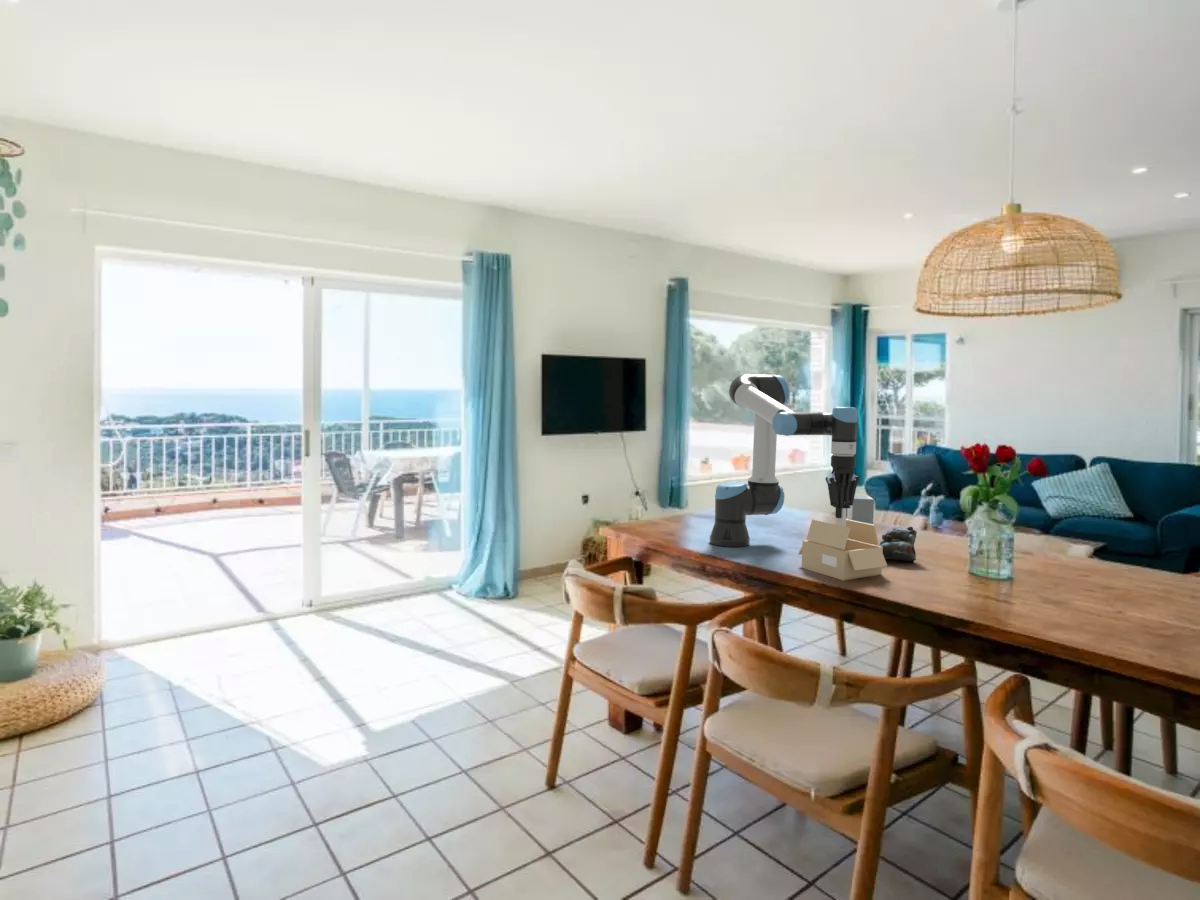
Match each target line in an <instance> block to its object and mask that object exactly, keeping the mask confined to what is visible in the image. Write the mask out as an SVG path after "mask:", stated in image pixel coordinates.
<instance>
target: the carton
mask: <svg viewBox="0 0 1200 900" xmlns="http://www.w3.org/2000/svg"><path fill="white" fill-rule="evenodd" d="M798 555H799V556H800V555H801V568H802V569H804V570H808V571H811V572H815V573H818V574H821V575H825V576H828V577H832V578H834V579H837V580H840V581H842V582H843V581H848V580H849V581H850V580H856V579H863V578H868V577H877V576H882V574H883V573H882V572H883V570H882V569H883V567H884V568H885V567H888V564H887V561H886V559H885V558H884V556H883V547H880V545H878V546H877V545H873V544H868V543H864V542H860V541H855V540H851V539H847V542H846V545H845V549H844V550H843V549H839V548H835V547H832V546H828V545H824V544H820V543H816V542H812V541H809V540H807V539H805V540H802V546H801V548H800V550H799V551H798Z"/></svg>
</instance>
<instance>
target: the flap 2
mask: <svg viewBox="0 0 1200 900" xmlns="http://www.w3.org/2000/svg"><path fill="white" fill-rule="evenodd" d="M846 527H848V528H850V531H849V534H848V539H852V540H857V541H861V542H865V543H869V544H872V545H876V546H880V543H879V539H878V533H877V529H876V525H875V524H873V525H872V524H867V523H863V522H858V521H853V520H848V519H846Z"/></svg>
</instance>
